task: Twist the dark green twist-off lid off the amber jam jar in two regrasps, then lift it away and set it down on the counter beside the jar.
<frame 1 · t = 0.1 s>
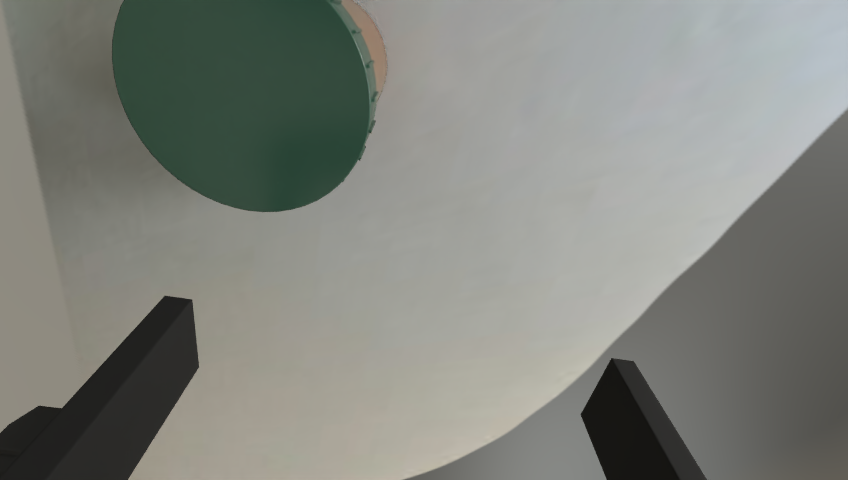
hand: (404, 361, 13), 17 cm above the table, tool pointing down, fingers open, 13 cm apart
jam jar: (323, 62, 24), on the table
jar lid: (249, 96, 14), point 12 cm above the table, screwed on, not yet turned
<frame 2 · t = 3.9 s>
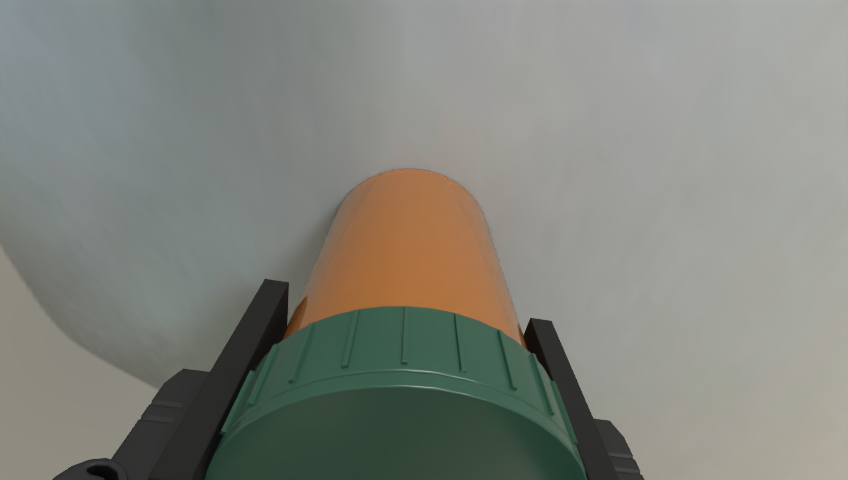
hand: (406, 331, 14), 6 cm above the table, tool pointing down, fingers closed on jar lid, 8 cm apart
jam jar: (410, 243, 20), on the table
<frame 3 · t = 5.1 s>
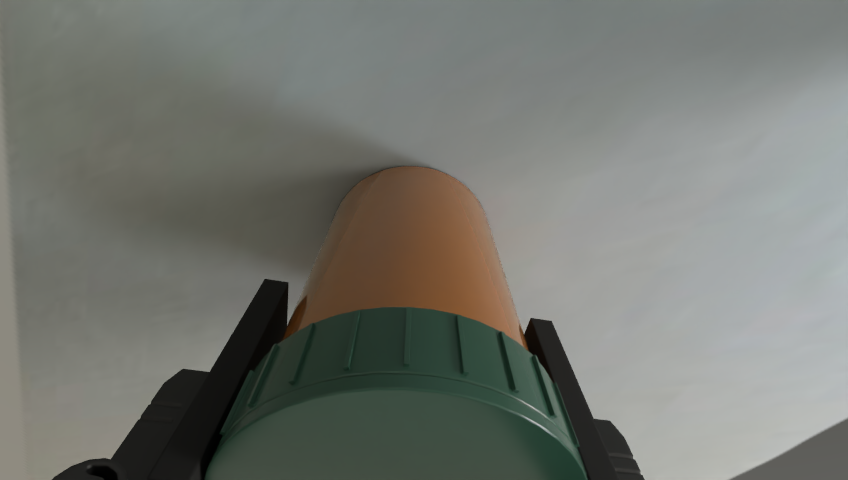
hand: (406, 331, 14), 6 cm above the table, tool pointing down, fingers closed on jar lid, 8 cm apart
jam jar: (411, 240, 20), on the table
when the fingers open (6 cm above the table, at t = 6.4 s): jar lid stays where it is, point 12 cm above the table.
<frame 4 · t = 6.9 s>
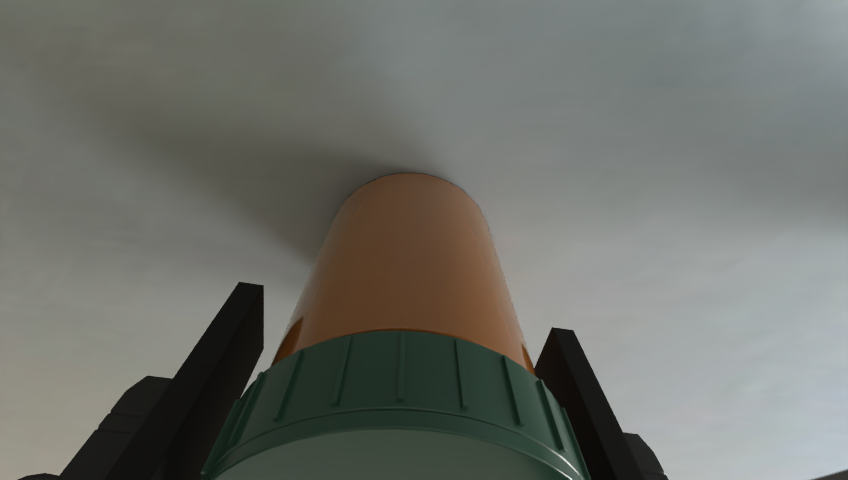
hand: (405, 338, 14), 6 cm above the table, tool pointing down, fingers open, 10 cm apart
jam jar: (410, 249, 19), on the table
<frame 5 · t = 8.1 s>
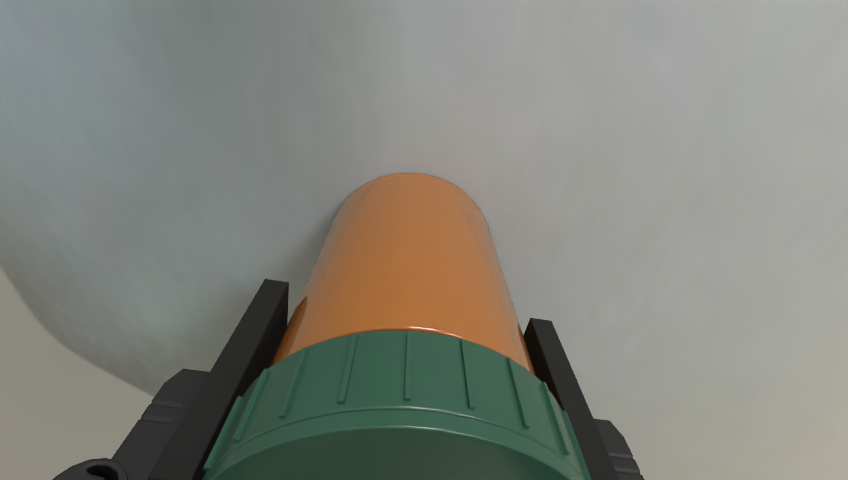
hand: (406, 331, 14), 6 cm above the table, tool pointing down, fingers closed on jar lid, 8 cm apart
jam jar: (410, 249, 19), on the table
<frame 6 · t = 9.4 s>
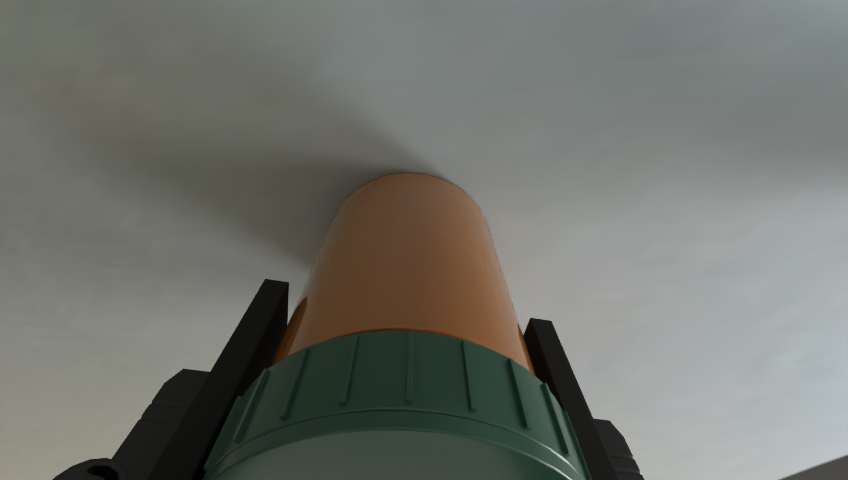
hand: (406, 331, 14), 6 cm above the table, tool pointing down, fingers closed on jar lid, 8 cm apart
jam jar: (410, 249, 19), on the table
when the fingers open (2 cm above the table, at t = 16.7 s): jar lid drops 6 cm, point 2 cm above the table.
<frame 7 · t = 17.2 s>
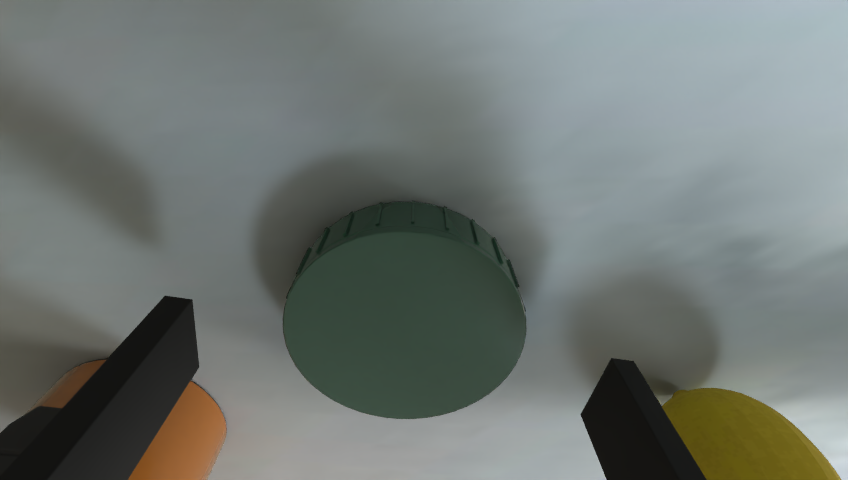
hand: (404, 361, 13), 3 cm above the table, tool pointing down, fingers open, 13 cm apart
lemon: (676, 389, 19), on the table
jam jar: (143, 418, 19), on the table
jar lid: (405, 331, 14), point 2 cm above the table, off its thread
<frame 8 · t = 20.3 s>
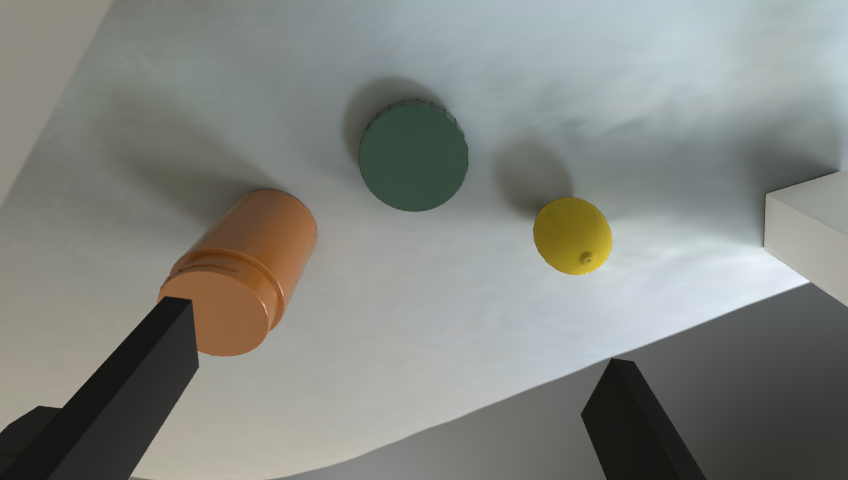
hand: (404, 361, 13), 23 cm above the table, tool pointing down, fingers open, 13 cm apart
lemon: (555, 212, 36), on the table
jam jar: (274, 229, 36), on the table
jar lid: (413, 160, 31), point 2 cm above the table, off its thread
milk: (798, 210, 36), on the table
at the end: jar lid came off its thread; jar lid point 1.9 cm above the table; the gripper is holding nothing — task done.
